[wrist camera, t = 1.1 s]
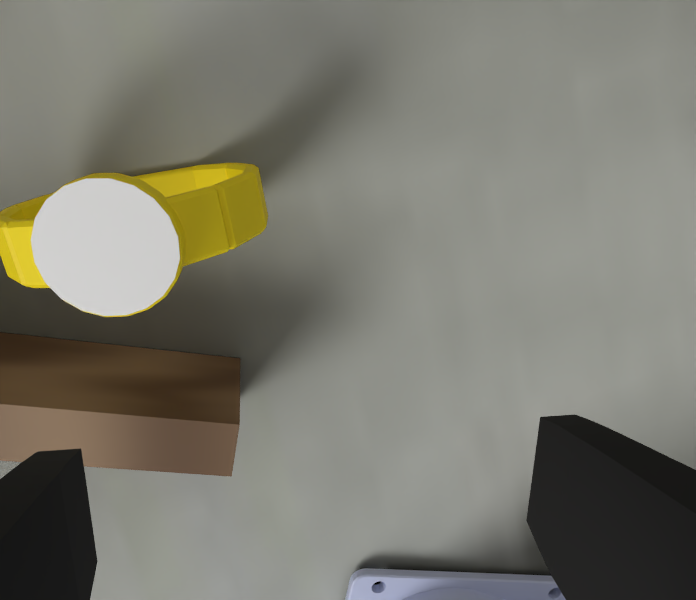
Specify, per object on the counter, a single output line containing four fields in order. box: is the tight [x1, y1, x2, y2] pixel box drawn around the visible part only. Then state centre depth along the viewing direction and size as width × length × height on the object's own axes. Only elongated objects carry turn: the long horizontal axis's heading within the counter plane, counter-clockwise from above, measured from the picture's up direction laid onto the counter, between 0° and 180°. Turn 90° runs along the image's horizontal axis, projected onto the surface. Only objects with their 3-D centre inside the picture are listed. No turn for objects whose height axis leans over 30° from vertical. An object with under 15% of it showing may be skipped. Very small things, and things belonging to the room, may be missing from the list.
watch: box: [0, 163, 268, 317], centre depth 14 cm, size 6×3×6 cm, turn 99°
